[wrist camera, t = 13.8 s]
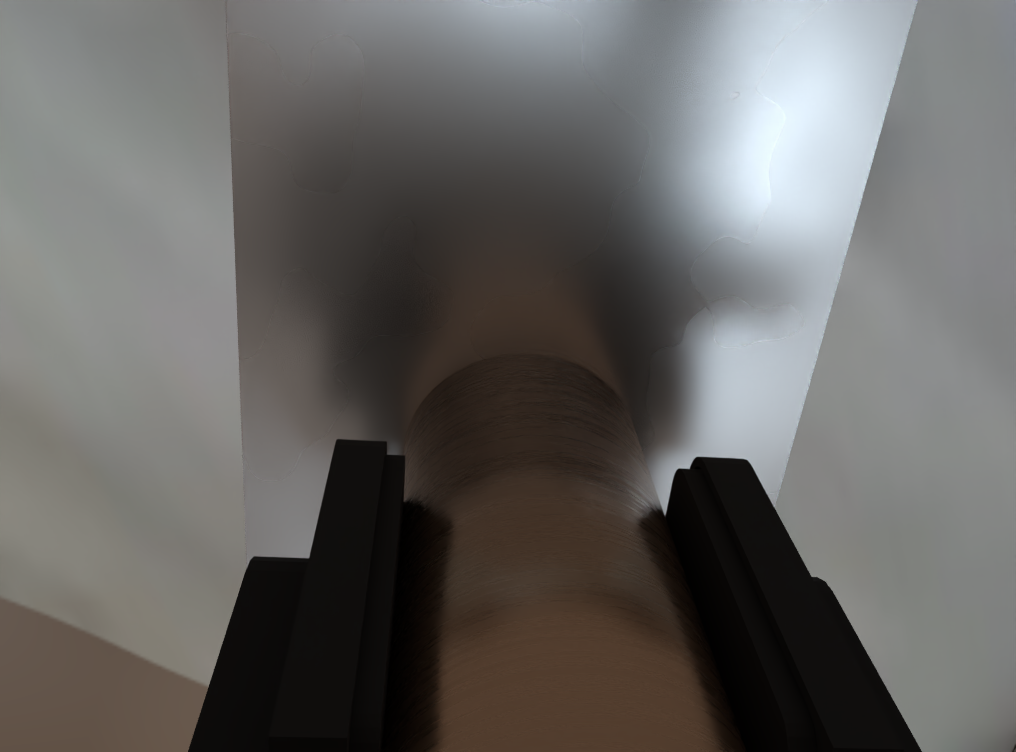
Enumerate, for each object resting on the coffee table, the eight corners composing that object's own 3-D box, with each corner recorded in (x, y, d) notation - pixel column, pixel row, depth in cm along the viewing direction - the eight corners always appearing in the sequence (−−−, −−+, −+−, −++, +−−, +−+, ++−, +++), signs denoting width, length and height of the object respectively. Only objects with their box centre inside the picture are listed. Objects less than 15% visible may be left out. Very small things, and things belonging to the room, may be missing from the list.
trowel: (923, -182, 9) (2357, -481, 2) (724, 574, 14) (1006, 1264, 7) (240, -270, 9) (-674, -1046, 2) (261, 552, 13) (37, 1289, 6)
